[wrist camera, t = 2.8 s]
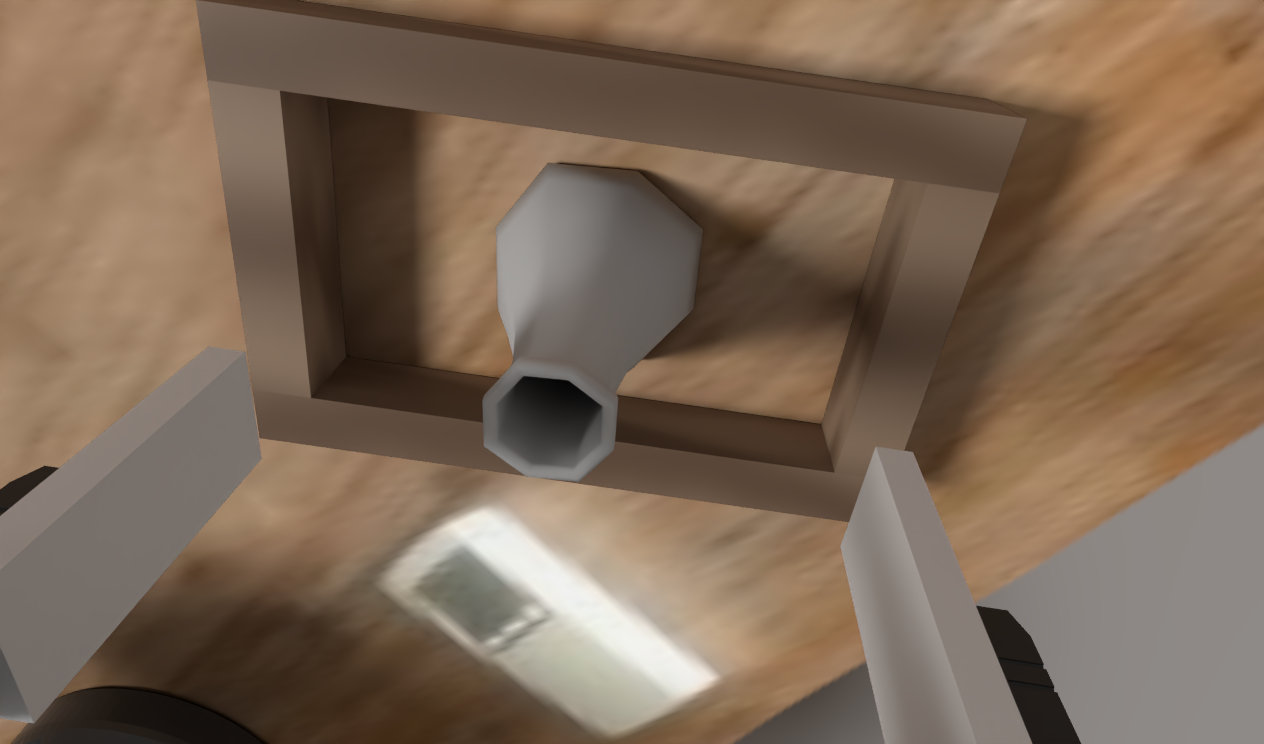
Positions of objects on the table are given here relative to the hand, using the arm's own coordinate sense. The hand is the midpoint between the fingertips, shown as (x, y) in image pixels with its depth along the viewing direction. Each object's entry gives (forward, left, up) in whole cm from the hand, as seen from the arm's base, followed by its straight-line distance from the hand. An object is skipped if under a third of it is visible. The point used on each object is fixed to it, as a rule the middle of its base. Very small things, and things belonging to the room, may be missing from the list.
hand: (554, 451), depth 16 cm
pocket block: (0, 0, -11) cm, 11 cm away
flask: (0, 0, -12) cm, 12 cm away
